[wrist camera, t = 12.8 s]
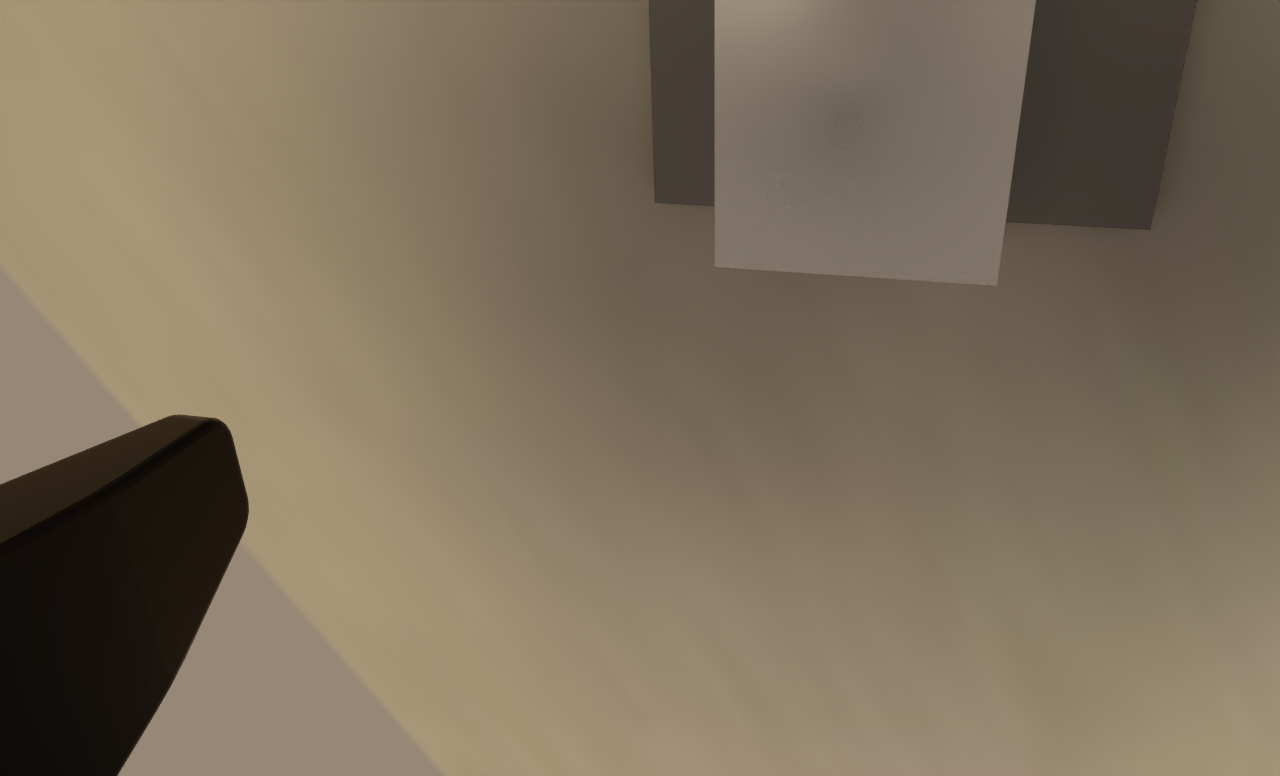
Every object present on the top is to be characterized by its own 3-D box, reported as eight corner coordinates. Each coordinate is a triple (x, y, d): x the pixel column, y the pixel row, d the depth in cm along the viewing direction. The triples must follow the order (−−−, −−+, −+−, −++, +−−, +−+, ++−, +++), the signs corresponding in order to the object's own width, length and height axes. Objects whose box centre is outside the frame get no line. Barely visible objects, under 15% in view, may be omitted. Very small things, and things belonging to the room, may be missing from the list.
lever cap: (1026, -72, 17) (1039, -25, 14) (991, 204, 19) (997, 285, 17) (748, -74, 18) (713, -30, 15) (744, 191, 20) (714, 267, 17)
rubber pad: (1229, -195, 16) (1235, -192, 16) (1147, 219, 19) (1150, 229, 19) (649, -187, 18) (643, -183, 17) (659, 194, 21) (655, 202, 20)
